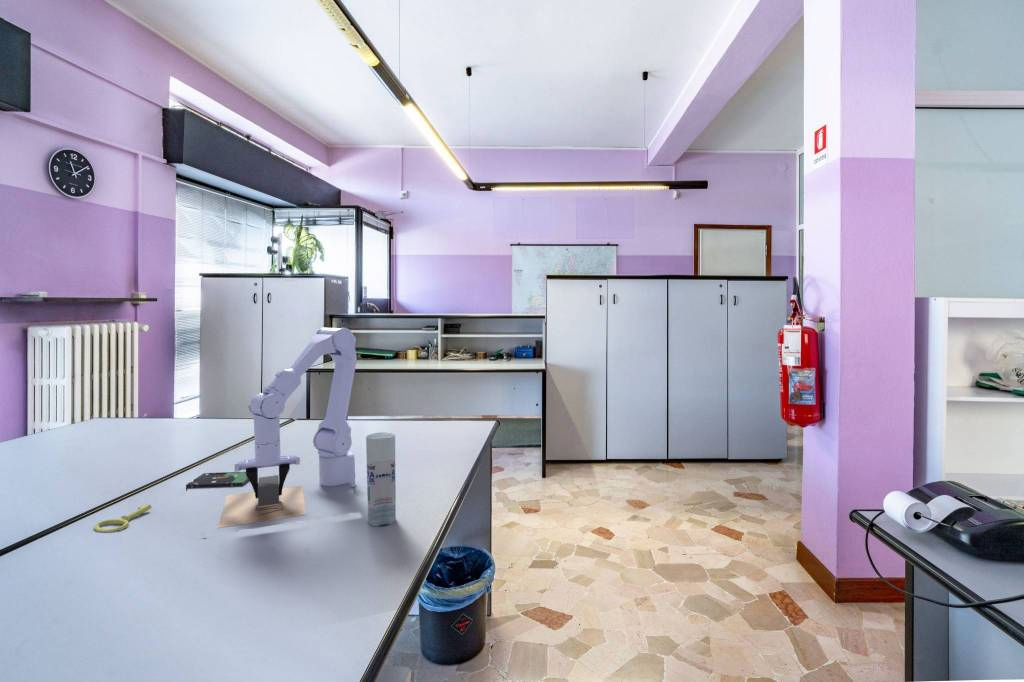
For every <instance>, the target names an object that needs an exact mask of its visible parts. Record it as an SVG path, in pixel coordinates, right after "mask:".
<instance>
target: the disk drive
mask: <svg viewBox="0 0 1024 682" xmlns="http://www.w3.org/2000/svg"><path fill="white" fill-rule="evenodd" d="M249 482H250V481H249V479H248V478H247V476H246V471H236V472H235V471H230V472H204V473H202V474H200V475H199V476H198V477H196V478H195V479H193V481H190V482H188V483H187V484H185V491H186V492H187V491H188V489H199V488H223V487H224V488H225V487H243V486H245V485H246V484H248V483H249Z"/></svg>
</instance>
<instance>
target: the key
mask: <svg viewBox="0 0 1024 682" xmlns="http://www.w3.org/2000/svg"><path fill="white" fill-rule="evenodd" d="M151 509H152V505H151V504H150V503H149V504H146V505H140V506H138V507H137V510H135V511H133V512H131V513H129V514H127V515H122V516H121V517H120V518H112V519H110V518H109V519H105V520H102V521H98V522H97V523H96V524H95V525H94V526H93V530H94V531H95V532H98V533H113V532H112V531H116V532H118V531H117V530H120V531H123V530H122V529H124V528H126V527H128V526H129V527H130V523H129V522H130V521H131V520H132V519H134V518H136V517H138V516H140V515H142V514H144V513H145V512H147V511H149V510H151ZM128 521H129V522H128ZM106 524H108V525H120V524H123V525H120V526H117V527H113V528H102V527H103V526H107V525H106ZM100 526H101V527H100ZM129 527H128V528H129ZM126 529H127V528H126ZM124 530H125V529H124Z"/></svg>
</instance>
